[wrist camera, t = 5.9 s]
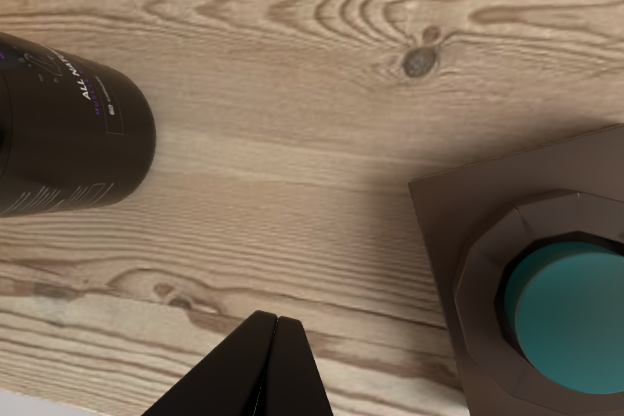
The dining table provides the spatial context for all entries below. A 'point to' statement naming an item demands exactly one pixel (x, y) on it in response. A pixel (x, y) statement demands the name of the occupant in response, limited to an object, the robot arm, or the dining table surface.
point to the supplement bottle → (68, 131)
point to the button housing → (516, 258)
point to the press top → (571, 315)
